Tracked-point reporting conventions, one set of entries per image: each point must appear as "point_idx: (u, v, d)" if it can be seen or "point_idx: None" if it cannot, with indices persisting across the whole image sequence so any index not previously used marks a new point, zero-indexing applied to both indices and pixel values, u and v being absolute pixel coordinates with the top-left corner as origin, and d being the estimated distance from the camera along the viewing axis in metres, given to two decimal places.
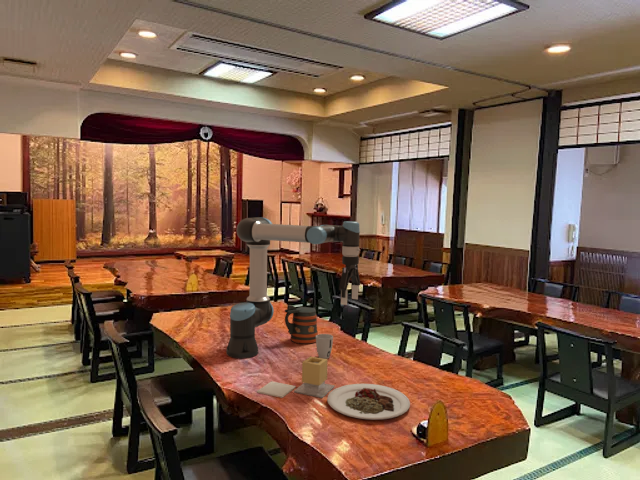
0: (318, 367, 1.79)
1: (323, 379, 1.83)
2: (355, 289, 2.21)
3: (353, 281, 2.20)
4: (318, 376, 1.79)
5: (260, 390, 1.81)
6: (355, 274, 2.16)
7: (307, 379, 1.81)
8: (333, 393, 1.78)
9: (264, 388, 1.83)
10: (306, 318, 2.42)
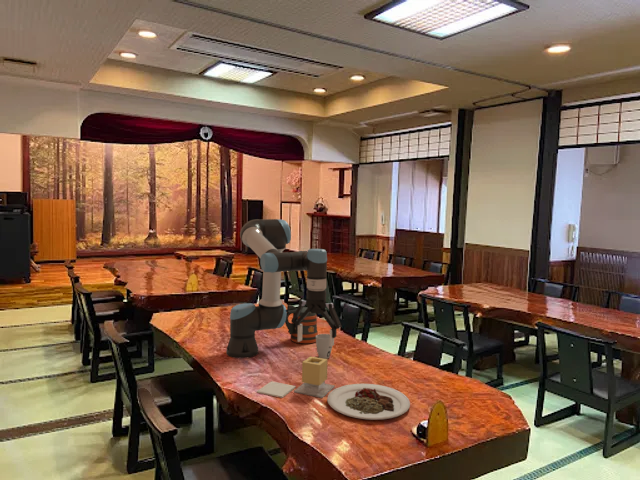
0: (318, 367, 1.79)
1: (323, 379, 1.83)
2: None
3: None
4: (318, 376, 1.79)
5: (260, 390, 1.81)
6: (320, 313, 1.79)
7: (307, 379, 1.81)
8: (333, 393, 1.78)
9: (264, 388, 1.83)
10: (306, 318, 2.42)
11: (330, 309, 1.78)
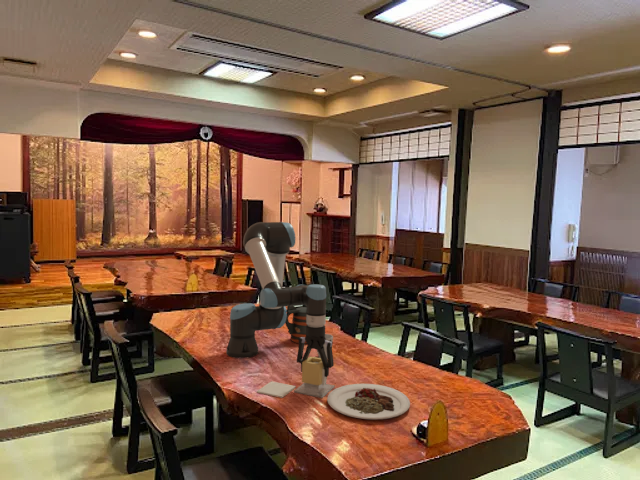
0: (318, 367, 1.79)
1: None
2: None
3: None
4: (318, 376, 1.79)
5: (260, 390, 1.81)
6: (317, 349, 1.81)
7: (307, 379, 1.81)
8: (333, 393, 1.78)
9: (264, 388, 1.83)
10: None
11: (328, 348, 1.79)
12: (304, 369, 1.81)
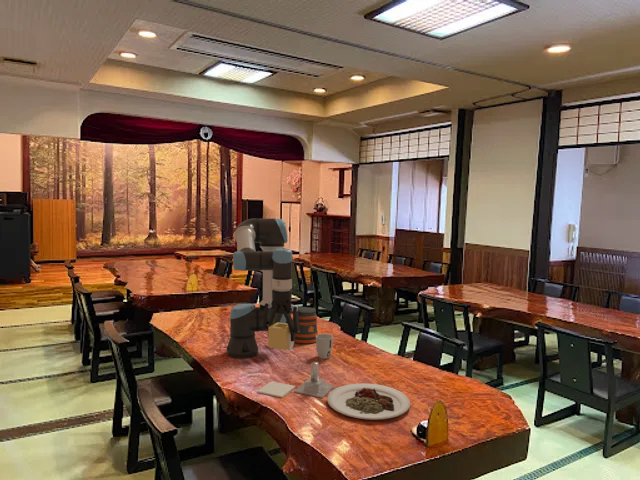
0: (284, 331, 1.77)
1: None
2: None
3: None
4: (284, 340, 1.77)
5: (260, 390, 1.81)
6: (283, 314, 1.79)
7: (273, 344, 1.79)
8: (333, 393, 1.78)
9: (264, 388, 1.83)
10: (306, 318, 2.42)
11: (294, 312, 1.77)
12: (270, 334, 1.79)
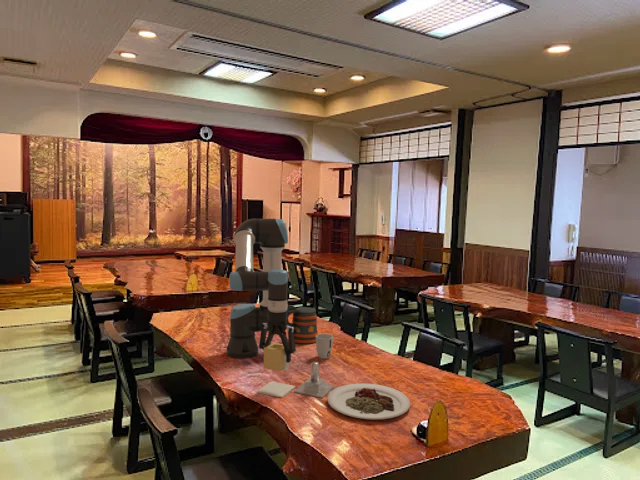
0: (279, 352, 1.77)
1: None
2: None
3: None
4: (279, 362, 1.77)
5: (260, 390, 1.81)
6: (279, 335, 1.79)
7: (268, 365, 1.79)
8: (333, 393, 1.78)
9: (264, 388, 1.83)
10: (306, 318, 2.42)
11: (289, 333, 1.78)
12: (266, 355, 1.80)
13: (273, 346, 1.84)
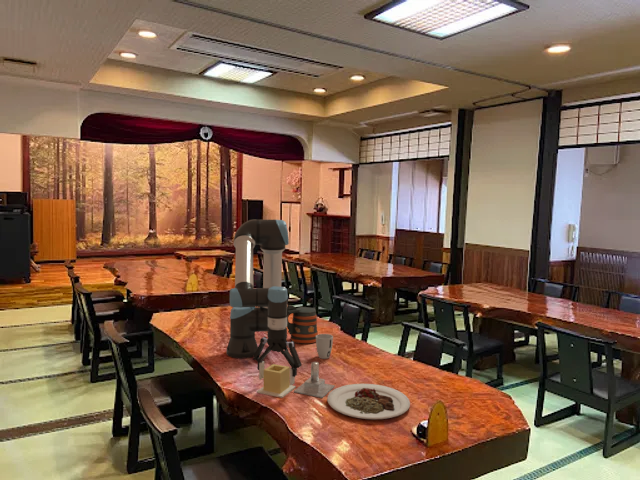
0: (279, 375, 1.78)
1: (285, 387, 1.82)
2: None
3: None
4: (279, 384, 1.78)
5: (260, 390, 1.81)
6: None
7: (268, 387, 1.80)
8: (333, 393, 1.78)
9: None
10: (306, 318, 2.42)
11: (290, 348, 1.78)
12: (265, 377, 1.80)
13: (273, 368, 1.85)
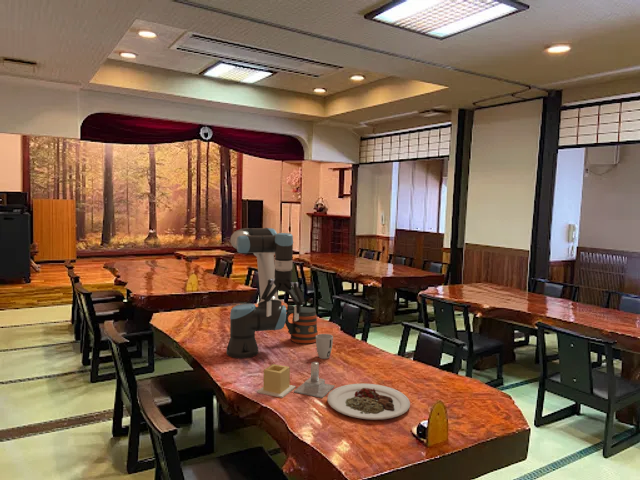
0: (279, 375, 1.78)
1: (285, 387, 1.82)
2: None
3: None
4: (279, 384, 1.78)
5: (260, 390, 1.81)
6: (286, 291, 1.99)
7: (268, 387, 1.80)
8: (333, 393, 1.77)
9: None
10: (306, 318, 2.42)
11: (295, 288, 1.97)
12: (265, 377, 1.80)
13: (273, 368, 1.85)
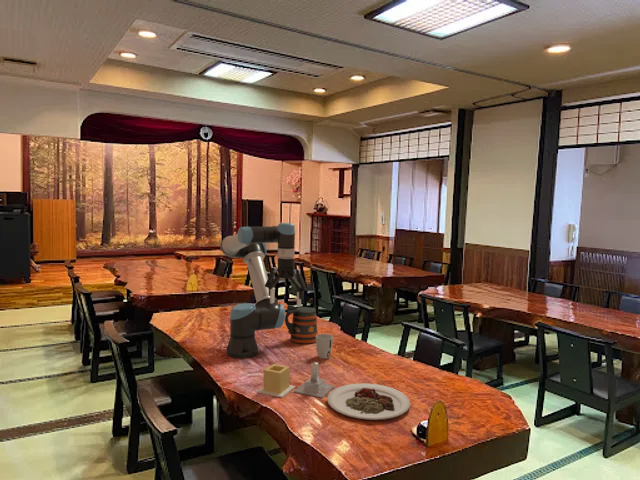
0: (279, 375, 1.78)
1: (285, 387, 1.82)
2: None
3: None
4: (279, 384, 1.78)
5: (260, 390, 1.81)
6: (289, 278, 2.09)
7: (268, 387, 1.80)
8: (333, 393, 1.77)
9: None
10: (306, 318, 2.42)
11: (297, 274, 2.07)
12: (265, 377, 1.80)
13: (273, 368, 1.85)
